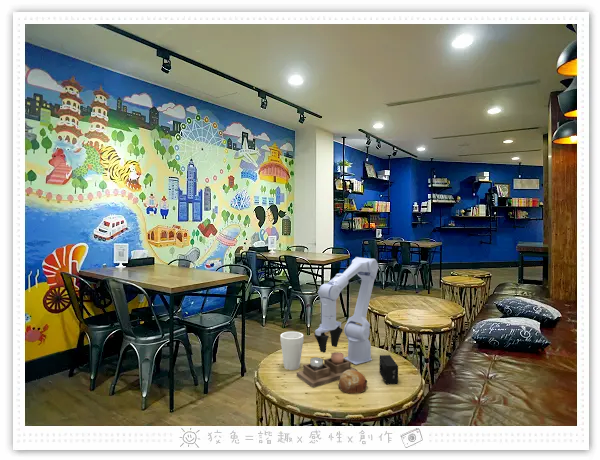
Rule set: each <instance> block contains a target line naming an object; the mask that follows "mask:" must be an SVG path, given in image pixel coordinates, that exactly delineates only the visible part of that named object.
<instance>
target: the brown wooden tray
mask: <svg viewBox="0 0 600 460" xmlns="http://www.w3.org/2000/svg"><path fill="white" fill-rule="evenodd" d="M349 369H350V370H354V371H358V369H355V368H354V367H352V364H351V362H350V361H348V360H346V359H344V360H343V363H342V364H338V365H336V364H333V363H332V362H331V357H330V358H326V359H323V369H320V370H312V369H311V368H310V363H306V364H303V366H302V370H300V371H297V372H296V377H297V378H299V379H300V380H301V381H302V382H304V383H305V384H307V385H308V386H310V387H311V388H312V389H313V388H317V387H319V386H323V385H327V384H330V383H333V382H335V381H339V380H340V376H341V374H342V373H343V372H344V371H346V370H349Z"/></svg>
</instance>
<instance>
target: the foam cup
mask: <svg viewBox="0 0 600 460" xmlns="http://www.w3.org/2000/svg"><path fill="white" fill-rule="evenodd" d="M279 336H280V340H279V341H280V345H281V354H282V361H283V367H284V369H286V370H288V369H289V371H294V370H295V371H296V370H298V369H300V367H301V360H302V352H303V344H304V339H305V338H304V337H305V336H304V334H303V332H299V331H285V332H282V333H281V334H279Z"/></svg>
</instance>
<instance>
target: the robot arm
mask: <svg viewBox="0 0 600 460" xmlns="http://www.w3.org/2000/svg"><path fill="white" fill-rule="evenodd" d="M378 271H379V263H378V261H377V259H376V258H367V257H359V256H355V258H354V259H352V260H351V263H350V265H349V266H348V267H347V268H346V269H345V270H344V271H343V272H342V273H341V272H339V273H336V274H335V276H334V277H332V278H331V279H330V280H328V282H327V283H323V284H321V285H320V286H319V289H318V291H317V294H318V296H319V300H320V303H321V323H320V324H319V326H318V328H317V329H315V332H314V337H315V339H316V341H317V344H318V347H319V352H321V353H323V354H325V353H326V351H327V343H328V339H329V337H330V342H331V347H334V348H336V347H338V345H339V340H340V337H341V335H342V333H343V332H344V335H345V336H346V339H347V356H344V359H346V360H348V361H350V362H351V363H352V364H353V365H360V364H364V363H368V362H371V361H373V359H372V357H371V356H372V352H371V351H372V349H371V348H372V344H371V342H370V341H371V340H370V339H369V338H370V333H371V331H370V328H371V323H370V322H369V321H368V319H367V315H368V314H367V313H368V309H369V306H370V301H371V296H372V292H373V287H374V282H375V280H376V279H377V273H378ZM356 275H357V276H358V277H359V278H360V279H361V281H360V287H359V291H358V295H357V299H356V303H355V308H354V312H353V315H352V316H349V317H348V318H347V320H346V321H347V322H346V323H345V325H344V328H342V321H337V299H339V296H340V293H341V292H342V291H343V289H344V288H346V287H347V286H348V285H349V280H350V279H352V278H353V277H354V276H356ZM327 332H329V334H330V336H329V335H327V334H326V333H327Z"/></svg>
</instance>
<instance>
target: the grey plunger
mask: <svg viewBox="0 0 600 460" xmlns="http://www.w3.org/2000/svg"><path fill="white" fill-rule="evenodd" d="M309 360H310V363H309V364H310V368H311V369H312V370H320V369H323V364H324V359H323V358H321V357H312V358H310V359H309Z"/></svg>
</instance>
